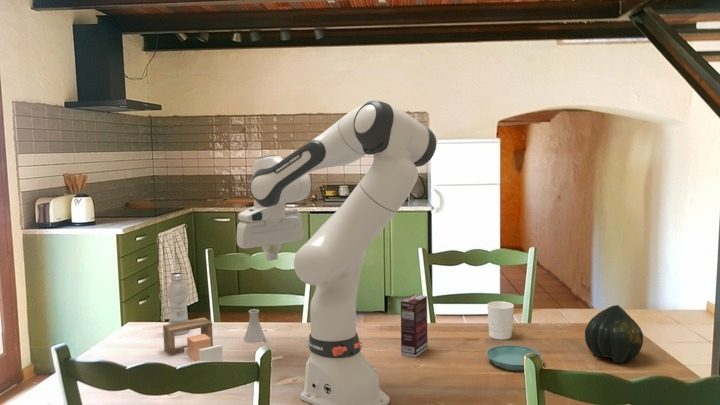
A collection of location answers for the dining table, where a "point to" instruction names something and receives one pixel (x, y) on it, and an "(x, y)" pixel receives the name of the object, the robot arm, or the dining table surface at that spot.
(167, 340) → the tunnel
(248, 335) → the flask
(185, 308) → the plastic bottle
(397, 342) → the dining table surface
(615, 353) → the squash
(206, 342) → the block
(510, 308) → the white cup
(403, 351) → the supplement box
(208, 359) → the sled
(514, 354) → the saucer
